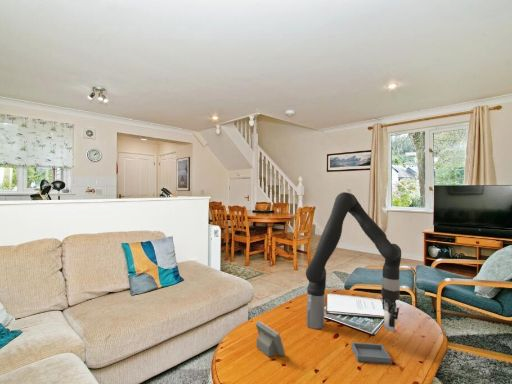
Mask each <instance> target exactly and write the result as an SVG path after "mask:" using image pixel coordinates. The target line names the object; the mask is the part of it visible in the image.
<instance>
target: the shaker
mask: <svg viewBox="0 0 512 384" xmlns="http://www.w3.org/2000/svg"><path fill="white" fill-rule="evenodd" d="M390 311H392V310H390ZM383 312H384V313H383V329H384V330H386V331H387V332H388V331H389V332H395V331H396V325H395V326H394V327H390V326H389V313H388V311H387V306H385V309H384V310H383Z"/></svg>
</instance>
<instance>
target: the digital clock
mask: <svg viewBox="0 0 512 384" xmlns="http://www.w3.org/2000/svg"><path fill="white" fill-rule="evenodd" d="M255 327H256V329H257V333H258V336H257V337H256V348H257V349H258V350H259V351H260V352H262V353H263V354H264V355H265V356H266V357H268V358H270V357H273V356H275V355H276V354H277V355H279V356H281V357H283V356H285V353H286V351H285V347H284V344H283V342H282V341H283V340H282V338H281V334H280V333H279V332H277V331H276V330H275V329H273V328H271V327H270V326H268V325H266V324H265V323H263V322H262V321H260V320H258V321H256V322H255Z"/></svg>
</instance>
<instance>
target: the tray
mask: <svg viewBox="0 0 512 384" xmlns="http://www.w3.org/2000/svg"><path fill="white" fill-rule="evenodd" d="M350 346H351V350H352V352H353V354H354V357H355V358H356V361H357V362H358V363H372V364H383V365H384V364H385V365H392V358H391V356H390V355H389V353H388V351H387V349H385V347H384V345H383V344H381V343H366V342H365V343H364V342H352V341H351V345H350Z"/></svg>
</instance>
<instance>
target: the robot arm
mask: <svg viewBox="0 0 512 384" xmlns="http://www.w3.org/2000/svg"><path fill="white" fill-rule="evenodd" d="M348 213H349V214H350V215H351V216H352V217H353V218H354V219H355V220H356V221H357V223H358V225H359V227H360V228H361V230H362V231H363V233H364V234H365V235H366V236H367V238H369V240H370V241H371V242H372V243H373V245H375V247H376V249H377V252H379V253H380V255H381V256H382V257H383V258H384V264H383V266H382V279H381V291H380V292H381V293H380V295H381V298H382V299H381V300H382V301H381V302H382V309H383V311H384V309H385V306H387V311H388V313H389V326H390V327H394V326H395V327H396V320H398V318H399V311H400V308H399V307H397V302H396V301H399V300H400V295H401V294H400V293H401V292H400V291H401V290H400V289H401V288H400V286H401V285H400V284H401V283H400V266H401V261H402V249H401V247H400V246H399V244H397V243H391V241H390V240H389V239H388V238H387V235H386V233H385V231H383V229H382V228H381V227H380V226H379V225H378V224H377V223H376V222H375V220H373V218H371V216H370V215H369V214H368V213H367V212H366V211H365V209H364V208H363V207H362V205H361V203H360V202H359V201H358V199H357V197H356V196H355V195H354V194H353V193H351V192H345V191H344V192H340V193H339V194H337V196H336V197H335V199H334V203H333V206H332V208H331V212H330V215H329V218H328V220H327V222H326V224H325V227H324V229H323V231H322V233H321V235H320V238H319V241H318V244H317V246H316V250H315V252H314V255H313V256H312V258H311V261H310V263H309V264H308V266H307V268H306V270H305V277H306V279H307V281H308V285H307V289H306V290H307V294H306V296H307V297H306V299H307V301H306V326H307V328H311V329H315V330H316V329H317V330H319V329H320V330H321V329H323V328H324V327H325V295H326V294H325V290H326V286H327V270H326V265H327V264H328V263H327V262H328V261H329V259H330V258H331V256H332V255H333V254H334V253H335V250H336V248H337V246H338V244H339V242H340V239H341V237H342V232H343V225H344V221H345V218H346V216H347V214H348ZM390 310H392V311H390Z"/></svg>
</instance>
